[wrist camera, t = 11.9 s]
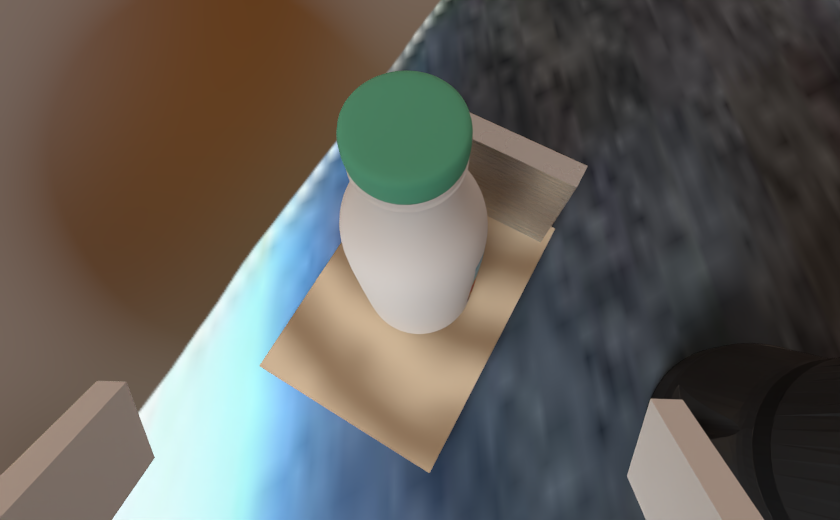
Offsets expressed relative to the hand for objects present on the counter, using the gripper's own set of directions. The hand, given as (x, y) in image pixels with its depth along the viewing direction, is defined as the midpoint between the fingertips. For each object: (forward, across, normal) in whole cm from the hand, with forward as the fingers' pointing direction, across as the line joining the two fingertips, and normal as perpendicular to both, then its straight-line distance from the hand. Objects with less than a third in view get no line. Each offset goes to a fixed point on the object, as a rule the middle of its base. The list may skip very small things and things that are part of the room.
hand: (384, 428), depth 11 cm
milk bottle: (+21, 0, -8) cm, 22 cm away
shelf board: (+22, 0, -9) cm, 24 cm away
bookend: (+26, +4, -2) cm, 26 cm away
